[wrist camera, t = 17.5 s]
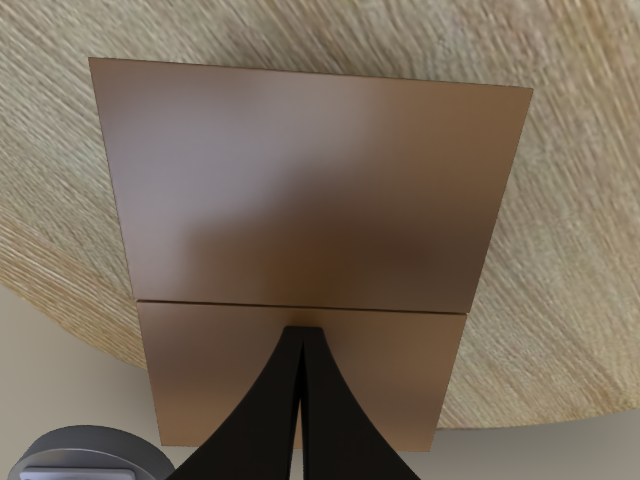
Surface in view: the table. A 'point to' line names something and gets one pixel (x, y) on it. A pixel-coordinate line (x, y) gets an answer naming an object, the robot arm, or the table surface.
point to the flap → (259, 343)
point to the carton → (304, 183)
